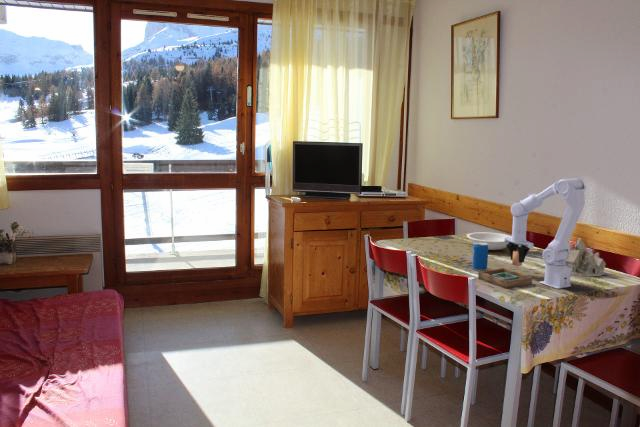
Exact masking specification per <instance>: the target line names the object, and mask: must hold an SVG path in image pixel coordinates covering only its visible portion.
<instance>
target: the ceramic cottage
mask: <svg viewBox="0 0 640 427" xmlns="http://www.w3.org/2000/svg"><path fill="white" fill-rule="evenodd" d="M568 244H569V246H570V249H569V257H568V259H567V260H566V262H565V265H566V266H567V267H569V268H570V270H571V276H578V275H581V276H580V277H590V276H600V277H603V276H602V275H604V276H605V267H606V265H607V263H606V262H605V261H604V259H603V258H600V252H596V253H593V252H590V251H588V249H587V247H586V244H585V243H584V242H583V241H582V238H580V237H578V238H577V241H576V245H575V246H574V247H573V244H572V243H568ZM582 275H583V276H582Z"/></svg>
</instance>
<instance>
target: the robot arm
mask: <svg viewBox="0 0 640 427" xmlns="http://www.w3.org/2000/svg"><path fill="white" fill-rule="evenodd" d="M586 189H587V186H586V185H585V183H584V181H583V179H581V178H579V177H574V178H562V179H559V180H558V181H555V182H554V183H553V184H552V185H549V186H548V187H547V188H545V189H544V190H543V191H541V192H539V193H529V194H528V196H527V197H526V198H524V199H520V200H519V202H513V204H511V207H510V213H511V215H512V227H511V228H512V229H511V231H512V232H511V236H512V238H509V237H505V238H504V242H509V243H508V244H506V246H507V247H506V248H507V249H508V251H509V257H510V260H511V261H512V260H513V251H514V250H518V252H519V262H520V263H522V264H523V263H524V262H525V259H526V256H527V254H528V253H529V251H530V250H531V249H533V248H534V243H533V242H530V241H528V240H527V223H528V218H529V215H530V214H531V212H532V211H534V210H535V209H537V208H539V207H541V206H542V205H543V201H546V200H547V199H550V198H551V197H554V196H555V195H557V194H559V195H560V196H561V197H562V198H563V200H564V201H565V202H566V203H567V207H566V209H565V212H564V213H563V216H562V218H561V222H560V223H559V226H558V229H557V230H556V231H557V232H556V234H555V236H554V239H553V240H551V242H550V243H548V245H547V247H546V248H545V249H544V250H543V251H542V253H541V254H542V256H541V257H542V258H543V261H544V263H545V267H544V279H543V280H540V281H539V284H542V285H545V286H548V287H551V288H555V289H558V290H559V289H564V288H569V287H572V285H571V279H572V278H571V276H572V275H571V270H570V268H569V267H567V266H566V265H565V262H566V260H567V259H568V257H569V249H570V246H569V244H570V242H569V241H570V240H571V238H572V235H573V232H574V231H575V229H576V226H577V224H578V221H579V219H580V217H581V214H582V212H583V209H584V207H585V200H586V199H585V191H586Z"/></svg>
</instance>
